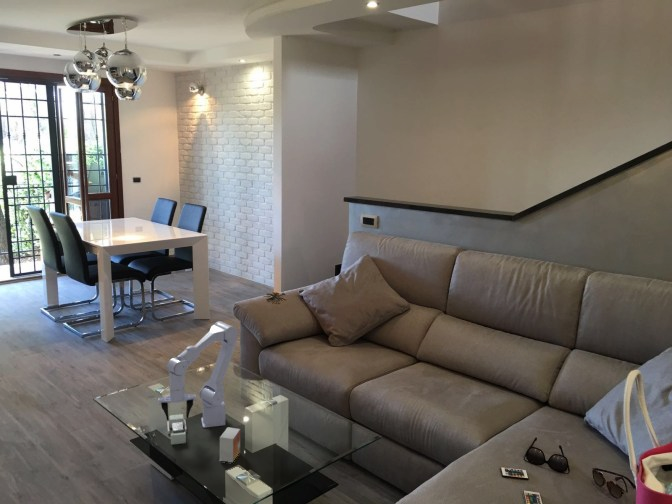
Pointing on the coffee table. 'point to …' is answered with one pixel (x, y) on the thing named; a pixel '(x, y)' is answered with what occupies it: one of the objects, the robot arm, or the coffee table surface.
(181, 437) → the vise frame
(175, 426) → the steel block
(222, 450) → the small box
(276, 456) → the coffee table surface
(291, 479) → the coffee table surface
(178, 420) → the sliding jaw
